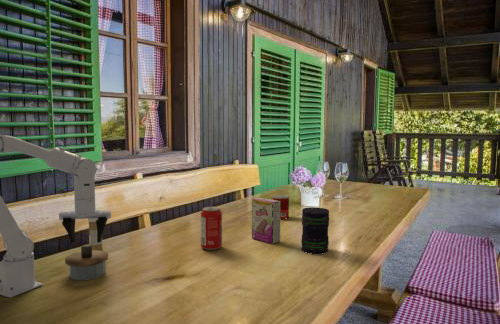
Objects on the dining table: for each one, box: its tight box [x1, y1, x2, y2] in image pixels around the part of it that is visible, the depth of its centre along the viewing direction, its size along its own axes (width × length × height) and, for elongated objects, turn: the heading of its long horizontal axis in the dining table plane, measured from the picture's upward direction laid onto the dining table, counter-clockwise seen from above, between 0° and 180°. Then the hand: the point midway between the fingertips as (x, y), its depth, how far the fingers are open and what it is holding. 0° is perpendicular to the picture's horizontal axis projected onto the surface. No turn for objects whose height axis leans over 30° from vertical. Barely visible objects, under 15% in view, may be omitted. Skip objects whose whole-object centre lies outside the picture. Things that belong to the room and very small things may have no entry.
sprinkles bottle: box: [87, 218, 104, 251], centre depth 140 cm, size 5×5×13 cm
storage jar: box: [300, 206, 330, 255], centre depth 143 cm, size 10×10×15 cm
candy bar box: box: [251, 197, 281, 245], centre depth 155 cm, size 11×5×16 cm, turn 47°
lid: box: [64, 244, 109, 267], centre depth 120 cm, size 12×12×5 cm
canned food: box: [272, 194, 290, 220], centre depth 193 cm, size 8×8×11 cm
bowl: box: [68, 261, 107, 281], centre depth 120 cm, size 10×10×4 cm
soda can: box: [200, 206, 223, 251], centre depth 146 cm, size 8×8×15 cm
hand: (86, 242), depth 120 cm, fingers open, 7 cm apart
